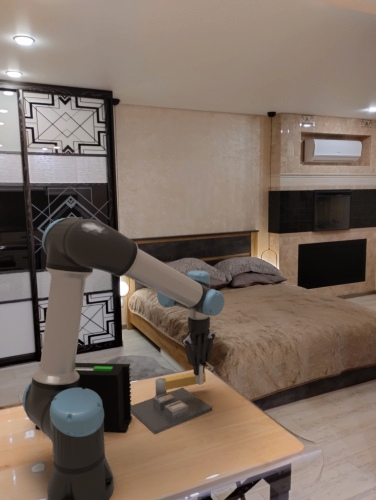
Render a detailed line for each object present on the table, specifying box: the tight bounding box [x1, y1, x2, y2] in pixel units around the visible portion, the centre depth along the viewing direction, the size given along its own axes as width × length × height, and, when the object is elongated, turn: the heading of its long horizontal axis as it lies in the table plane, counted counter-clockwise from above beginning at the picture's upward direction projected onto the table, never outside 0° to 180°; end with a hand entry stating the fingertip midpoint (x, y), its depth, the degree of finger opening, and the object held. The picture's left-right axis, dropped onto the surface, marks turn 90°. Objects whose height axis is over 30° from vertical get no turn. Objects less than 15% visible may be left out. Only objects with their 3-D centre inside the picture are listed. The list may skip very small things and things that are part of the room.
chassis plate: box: [131, 387, 214, 434], centre depth 131 cm, size 22×18×4 cm
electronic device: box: [34, 362, 133, 434], centre depth 124 cm, size 28×11×20 cm, turn 85°
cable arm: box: [155, 371, 207, 396], centre depth 140 cm, size 18×4×6 cm, turn 111°
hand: (199, 382), depth 139 cm, fingers closed
